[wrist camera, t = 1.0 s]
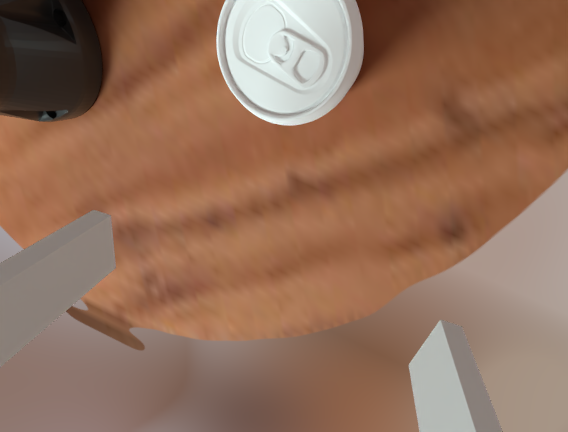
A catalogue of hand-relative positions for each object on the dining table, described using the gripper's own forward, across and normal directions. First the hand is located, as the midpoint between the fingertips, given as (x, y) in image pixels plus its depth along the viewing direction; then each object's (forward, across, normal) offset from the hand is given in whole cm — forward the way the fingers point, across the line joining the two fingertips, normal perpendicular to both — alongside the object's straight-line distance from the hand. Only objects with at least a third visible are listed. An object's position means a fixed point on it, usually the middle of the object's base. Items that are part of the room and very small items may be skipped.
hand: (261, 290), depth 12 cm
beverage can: (+20, -3, +8) cm, 22 cm away
